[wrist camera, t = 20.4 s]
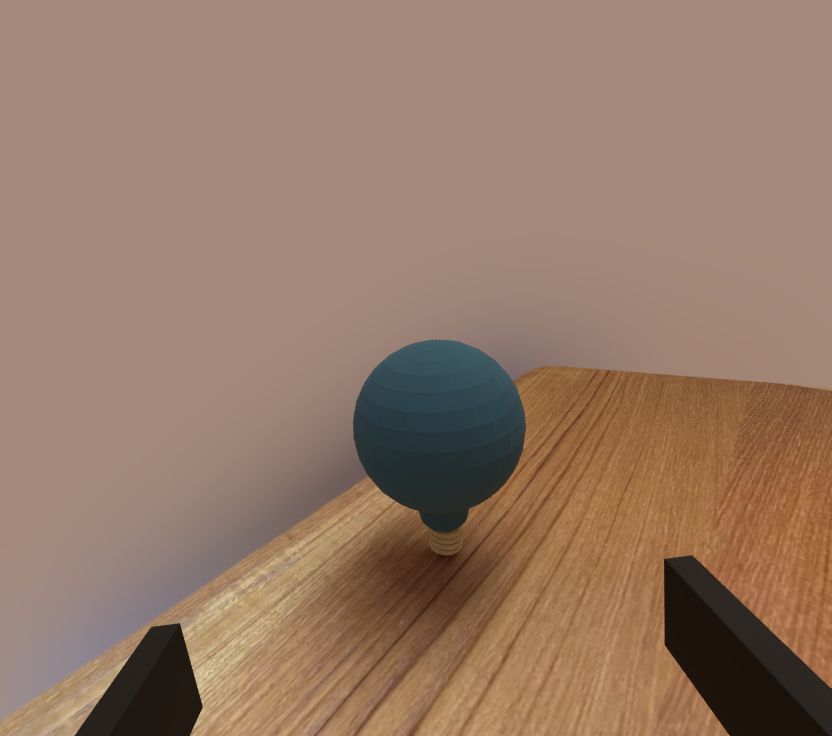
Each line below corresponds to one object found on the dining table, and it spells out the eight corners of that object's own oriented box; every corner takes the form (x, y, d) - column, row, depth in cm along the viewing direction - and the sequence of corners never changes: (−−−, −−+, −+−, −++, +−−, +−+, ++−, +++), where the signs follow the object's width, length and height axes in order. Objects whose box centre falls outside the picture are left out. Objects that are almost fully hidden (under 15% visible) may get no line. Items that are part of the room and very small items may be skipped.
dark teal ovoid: (535, 518, 27) (539, 323, 23) (506, 638, 19) (505, 383, 15) (407, 493, 30) (390, 319, 26) (341, 589, 23) (304, 368, 19)
